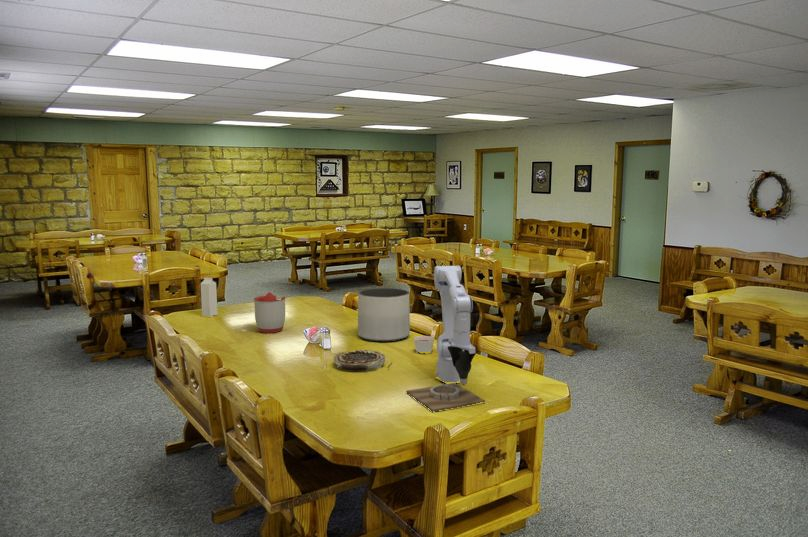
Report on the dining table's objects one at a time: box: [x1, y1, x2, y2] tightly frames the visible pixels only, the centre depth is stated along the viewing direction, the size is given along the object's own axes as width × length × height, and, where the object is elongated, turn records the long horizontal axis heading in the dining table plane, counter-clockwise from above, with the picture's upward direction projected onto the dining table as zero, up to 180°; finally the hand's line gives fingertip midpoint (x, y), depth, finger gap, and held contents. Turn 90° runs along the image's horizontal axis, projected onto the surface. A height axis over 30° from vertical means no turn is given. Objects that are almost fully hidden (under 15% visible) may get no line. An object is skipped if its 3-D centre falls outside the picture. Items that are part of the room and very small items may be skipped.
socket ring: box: [430, 384, 459, 401], centre depth 206 cm, size 10×10×2 cm
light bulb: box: [455, 358, 472, 387], centre depth 207 cm, size 6×6×10 cm
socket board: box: [405, 383, 486, 412], centre depth 207 cm, size 20×20×1 cm
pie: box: [333, 349, 389, 372], centre depth 244 cm, size 28×27×5 cm
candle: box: [413, 335, 435, 353], centre depth 263 cm, size 9×9×6 cm
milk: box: [200, 276, 218, 316], centre depth 333 cm, size 6×6×22 cm
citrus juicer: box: [253, 291, 286, 334], centre depth 301 cm, size 16×17×20 cm
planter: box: [357, 287, 411, 342], centre depth 289 cm, size 25×25×22 cm
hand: (461, 368), depth 207 cm, fingers closed on light bulb, 6 cm apart
